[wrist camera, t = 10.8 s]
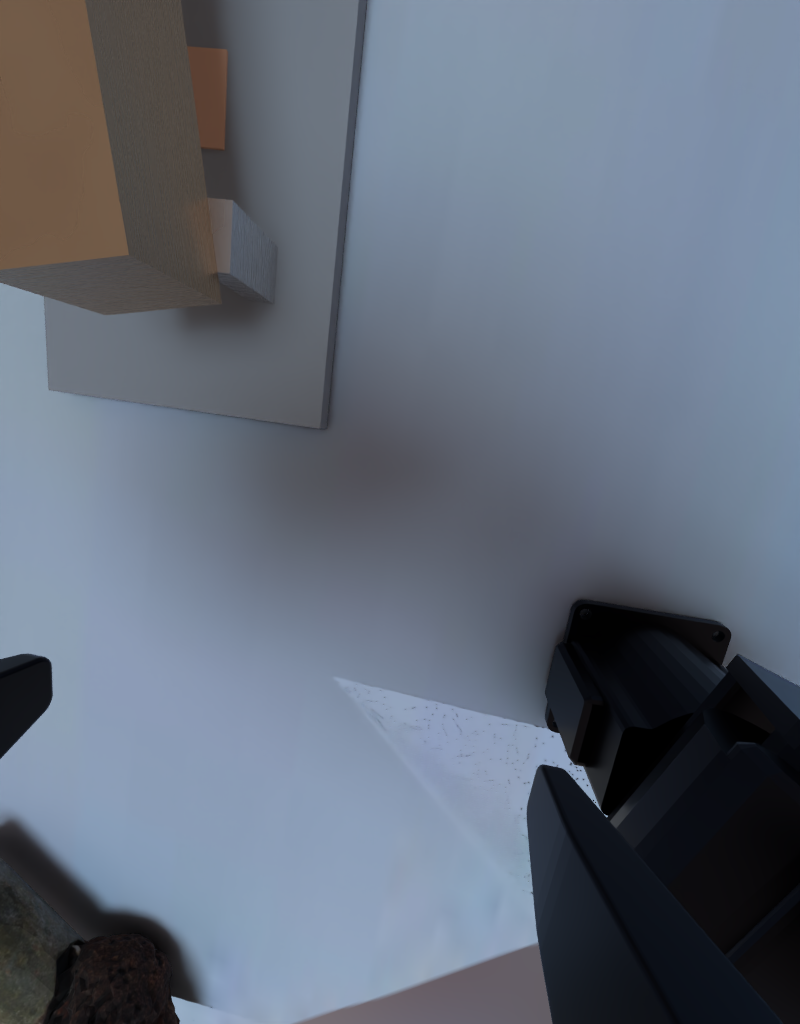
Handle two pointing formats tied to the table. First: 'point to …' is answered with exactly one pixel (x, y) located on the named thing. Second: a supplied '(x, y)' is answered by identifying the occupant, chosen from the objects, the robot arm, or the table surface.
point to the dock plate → (267, 202)
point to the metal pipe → (74, 968)
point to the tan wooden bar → (102, 157)
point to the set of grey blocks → (242, 252)
